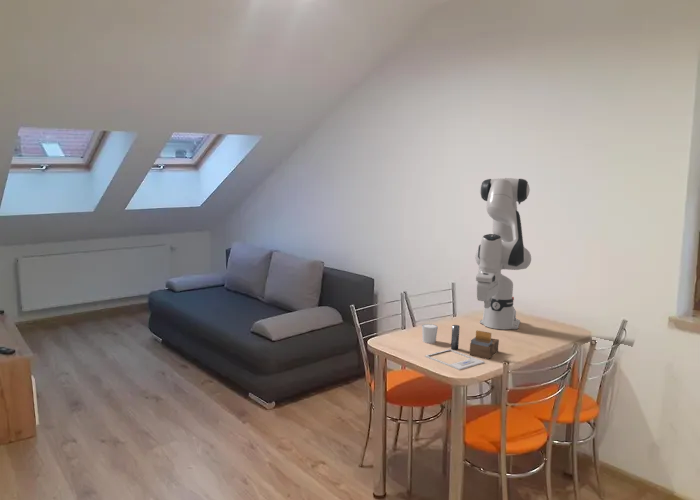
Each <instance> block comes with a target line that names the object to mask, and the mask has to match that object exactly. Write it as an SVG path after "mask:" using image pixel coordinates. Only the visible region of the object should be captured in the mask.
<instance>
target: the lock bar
mask: <svg viewBox="0 0 700 500" xmlns="http://www.w3.org/2000/svg"><path fill="white" fill-rule="evenodd" d="M491 338H492V332H488V331H482V330H475V337H473V338H472V339H470V343H471V344H476V345H481V346H486V347H489V346H490V345H491V344H492V340H491Z"/></svg>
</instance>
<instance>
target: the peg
mask: <svg viewBox="0 0 700 500" xmlns="http://www.w3.org/2000/svg"><path fill="white" fill-rule="evenodd" d="M460 328H461V327H460V325H458V324H452V326H451V340H450V341H451V342H450V343H451V344H450V349H451V350H454V351H458V350H459V345H460V344H459V343H460Z"/></svg>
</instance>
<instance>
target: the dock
mask: <svg viewBox="0 0 700 500" xmlns="http://www.w3.org/2000/svg"><path fill="white" fill-rule="evenodd" d="M491 340H492V344H491V345H490V346H489V347H486V346H481V345H476V344H471V342H470V344H469V356H470V357H477V358H480V359H485V358H486V359H487V360H490V359H491V358H492V357H493V356H494V355H495V354H496V353H498V352H499V345H500V344H499V341H500V340H499V339H496V338H492V337H491ZM489 358H490V359H489Z"/></svg>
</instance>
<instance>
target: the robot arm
mask: <svg viewBox="0 0 700 500" xmlns="http://www.w3.org/2000/svg"><path fill="white" fill-rule="evenodd" d="M530 191H531V189H530V185H529V183H528V181H527V179H524V178H512V177H505V178H493V179H492V178H487V179H485V180H483V181H482V182H481V185H480V187H479V193H480V196H481V199H482V200H483V201H485V202H486V212H487V214H488V215H489V216H488V217H490V218H491V219H492V233H488V234H484V235H482V238H481V242H480V244H479V245H478V249H477V251H476V253H475V256H474V257H475V262H476V264H477V265H478V272H477V274H476V277H475V281H476V299H477V301H480V302H483V304H484V305H483V307H484V308H483V313H482V319H480V320H479V323H480V324H482V325H483V326H485V327H487V328H490V329H495V330H518V329H519V328H520V324H521V321H520V319H517V311H516V309H515V307H514V301H515V297H514V296H513V294H514V293H513V292H514V283H513V280H512V279H510V278H509V277H508V276H506V275H504V274H502V270H509V271H510V270H511V271H519V270H525V269H527V268H528V267H530V264H531V262H532V256H531V252H530V251H529V250H528V249H527V247H525V246H524V240H523V238H524V237H523V229H522V222H521V221H522V219H521V215H520V212H519V211H518V205H521V203H524V202H525V201H526V200H527V199H528V196H529V194H530ZM517 203H518V204H517Z"/></svg>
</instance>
